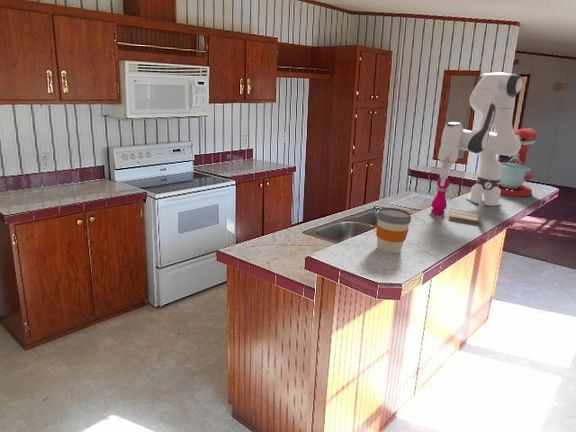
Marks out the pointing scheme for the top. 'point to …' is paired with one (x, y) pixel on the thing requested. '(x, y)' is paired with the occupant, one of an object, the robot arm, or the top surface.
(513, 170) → the stand mixer
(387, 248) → the reusable coffee cup
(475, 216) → the bookend
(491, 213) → the top surface
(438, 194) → the pepper mill
